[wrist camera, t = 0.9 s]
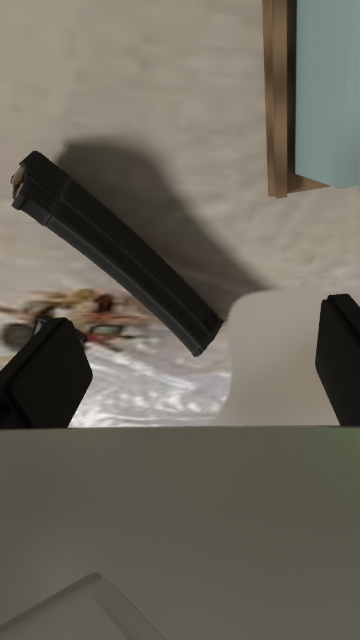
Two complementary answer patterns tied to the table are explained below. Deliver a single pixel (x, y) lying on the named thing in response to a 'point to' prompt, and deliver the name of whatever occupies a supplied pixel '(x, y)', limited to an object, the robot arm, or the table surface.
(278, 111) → the rack
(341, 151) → the panel
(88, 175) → the table surface
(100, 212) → the magazine
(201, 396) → the table surface
